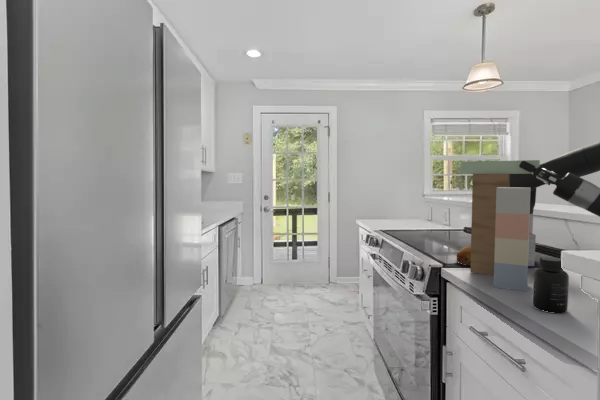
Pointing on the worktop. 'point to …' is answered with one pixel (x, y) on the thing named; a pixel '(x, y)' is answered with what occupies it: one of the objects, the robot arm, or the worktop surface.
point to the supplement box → (531, 250)
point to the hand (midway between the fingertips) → (521, 163)
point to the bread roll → (464, 255)
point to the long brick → (496, 167)
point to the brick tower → (512, 237)
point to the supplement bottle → (551, 286)
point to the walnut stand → (484, 220)
